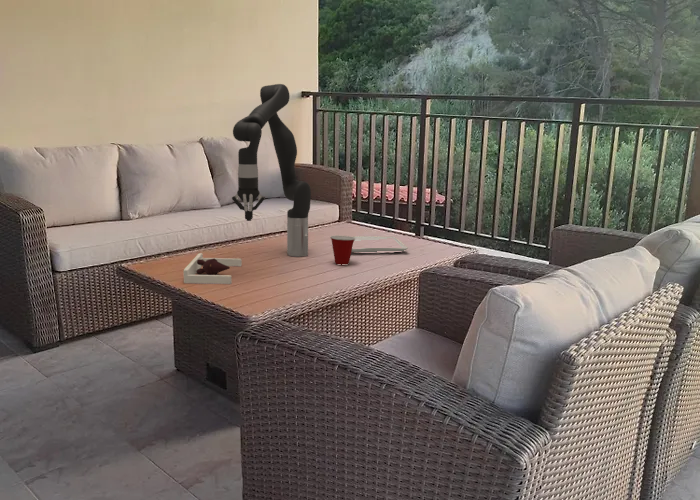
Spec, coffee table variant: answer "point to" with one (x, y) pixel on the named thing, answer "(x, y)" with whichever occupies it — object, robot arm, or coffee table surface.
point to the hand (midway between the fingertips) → (248, 220)
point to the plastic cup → (342, 248)
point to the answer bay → (208, 279)
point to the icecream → (211, 267)
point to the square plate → (359, 238)
